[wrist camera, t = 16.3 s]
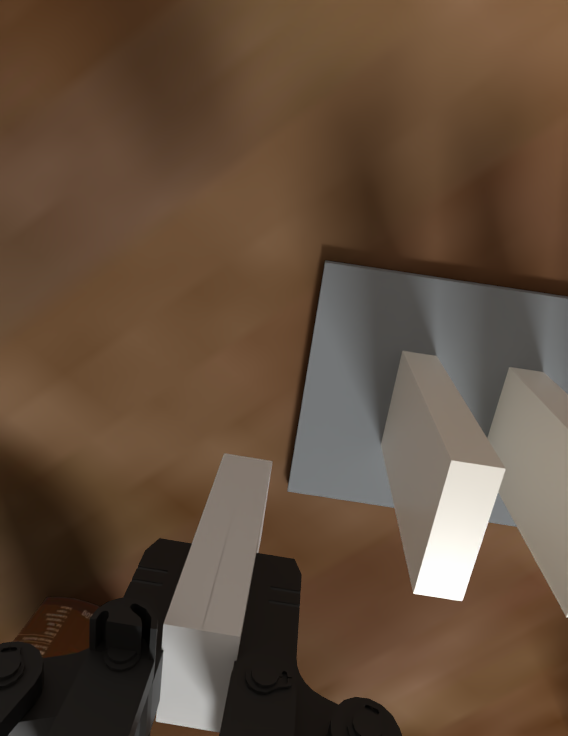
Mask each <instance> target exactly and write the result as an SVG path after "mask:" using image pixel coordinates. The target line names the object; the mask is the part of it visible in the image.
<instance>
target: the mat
mask: <svg viewBox="0 0 568 736" xmlns="http://www.w3.org/2000/svg"><path fill="white" fill-rule="evenodd" d="M402 351H408V352H414V353H421V354H427V355H434V356H437V357H438V359H439V361H440V362H441V364H442V366H443V367H444V369H445V370H446V372H447V374H448V375H449V377H450V379H451V380H452V382H453V383H454V385H455V387H456V388H457V390H458V392H459V393H460V395H461V397H462V398H463V400H464V401H465V403H466V405H467V406H468V408H469V410H470V411H471V413H472V414H473V416H474V418H475V419H476V421H477V423H478V424H479V426H480V427H481V429H482V431H483V432H484V434H485V436H486V437H488V434H489V431H490V428H491V424H492V421H493V418H494V415H495V411H496V408H497V405H498V402H499V398H500V395H501V392H502V389H503V385H504V382H505V379H506V376H507V372H508V369H509V367H513V368H520V369H527V370H533V371H540V372H544V373H545V374H546V375H547V376H548V377H549V378H550V379H552V380H553V381H554V382H555V383H556V384H557V385H558V386H559V387H560V388H561V389H562V390H563V391H565V392H566V393H567V394H568V297H567V296H561V295H554V294H547V293H541V292H534V291H527V290H521V289H514V288H507V287H501V286H494V285H487V284H481V283H474V282H467V281H461V280H454V279H447V278H441V277H434V276H427V275H421V274H414V273H407V272H401V271H394V270H387V269H380V268H374V267H367V266H360V265H354V264H347V263H340V262H334V261H327V260H325V265H324V271H323V277H322V283H321V289H320V295H319V301H318V307H317V313H316V319H315V325H314V331H313V337H312V343H311V350H310V356H309V362H308V368H307V374H306V380H305V386H304V392H303V398H302V404H301V410H300V416H299V422H298V428H297V434H296V441H295V447H294V453H293V459H292V465H291V471H290V477H289V483H288V491H289V492H295V493H302V494H308V495H315V496H321V497H328V498H334V499H341V500H347V501H354V502H360V503H367V504H373V505H380V506H386V507H393V508H395V507H394V503H393V498H392V494H391V489H390V484H389V480H388V475H387V471H386V466H385V462H384V457H383V452H382V448H381V442H382V437H383V433H384V429H385V424H386V420H387V416H388V411H389V407H390V403H391V398H392V394H393V390H394V385H395V381H396V376H397V372H398V368H399V363H400V359H401V355H402ZM488 522H490V523H497V524H503V525H510V526H516V524H515V522H514V520H513V519H512V517H511V515H510V513H509V511H508V509H507V508H506V506H505V504H504V502H503V500H502V498H501V497H500V495H499V493H498V494H497V497H496V500H495V503H494V506H493V509H492V512H491V515H490V518H489V521H488ZM516 527H517V526H516Z"/></svg>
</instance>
